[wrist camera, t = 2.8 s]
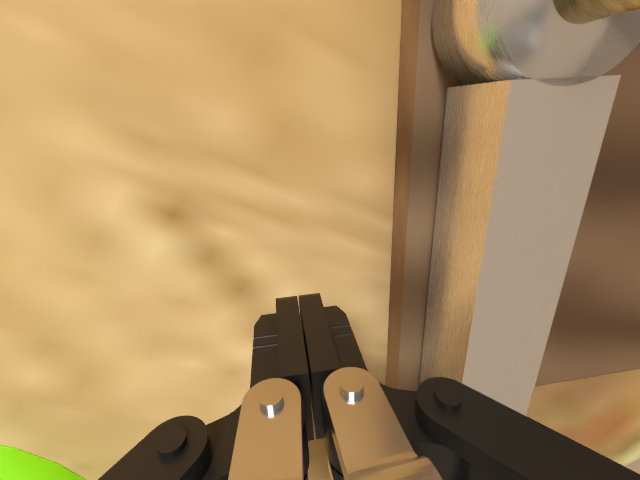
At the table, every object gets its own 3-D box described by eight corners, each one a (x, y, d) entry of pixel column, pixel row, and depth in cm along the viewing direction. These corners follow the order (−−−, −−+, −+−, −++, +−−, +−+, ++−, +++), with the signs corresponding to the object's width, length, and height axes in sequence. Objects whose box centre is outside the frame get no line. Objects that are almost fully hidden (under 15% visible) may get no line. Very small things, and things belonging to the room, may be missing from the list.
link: (439, -81, 9) (611, -274, 4) (582, -78, 9) (865, -248, 5) (404, 396, 16) (458, 510, 11) (488, 383, 16) (572, 486, 12)
